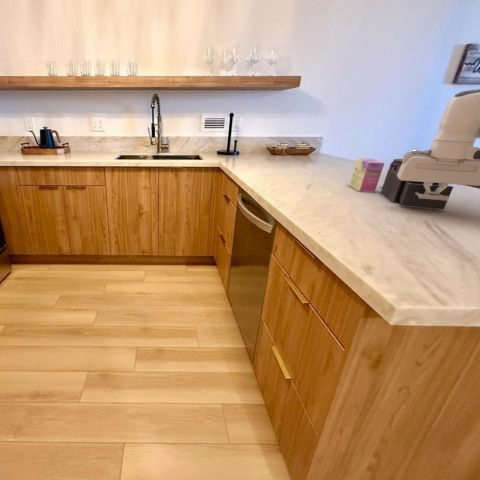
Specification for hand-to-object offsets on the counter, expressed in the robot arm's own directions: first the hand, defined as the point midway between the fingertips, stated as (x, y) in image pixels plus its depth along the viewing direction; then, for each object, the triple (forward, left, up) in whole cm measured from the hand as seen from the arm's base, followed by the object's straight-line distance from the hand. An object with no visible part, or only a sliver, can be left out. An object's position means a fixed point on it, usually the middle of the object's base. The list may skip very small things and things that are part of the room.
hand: (430, 196), depth 90 cm
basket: (0, -7, -4) cm, 8 cm away
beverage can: (0, -30, -5) cm, 31 cm away
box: (+12, -26, -5) cm, 29 cm away
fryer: (0, -15, -5) cm, 16 cm away
